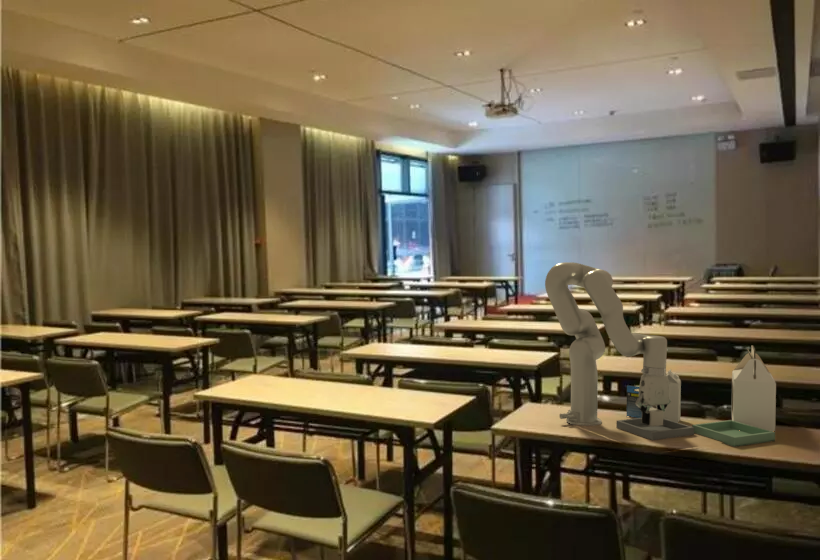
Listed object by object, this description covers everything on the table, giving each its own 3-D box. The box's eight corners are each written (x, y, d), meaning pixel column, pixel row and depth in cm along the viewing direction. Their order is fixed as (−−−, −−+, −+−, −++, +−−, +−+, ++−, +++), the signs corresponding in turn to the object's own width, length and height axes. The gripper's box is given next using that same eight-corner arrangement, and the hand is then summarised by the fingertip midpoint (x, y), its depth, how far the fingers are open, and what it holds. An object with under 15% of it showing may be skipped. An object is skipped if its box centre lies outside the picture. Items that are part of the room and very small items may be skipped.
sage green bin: (734, 446, 217) (734, 437, 217) (691, 433, 234) (691, 424, 234) (774, 441, 224) (775, 432, 224) (730, 428, 241) (730, 420, 240)
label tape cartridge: (652, 418, 255) (653, 386, 255) (649, 420, 252) (649, 387, 252) (629, 415, 261) (630, 383, 260) (626, 417, 258) (626, 385, 257)
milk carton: (657, 421, 250) (658, 370, 250) (660, 417, 257) (660, 368, 256) (678, 424, 247) (678, 372, 246) (680, 419, 253) (681, 369, 253)
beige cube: (651, 426, 232) (652, 411, 232) (641, 422, 237) (642, 408, 237) (662, 425, 234) (663, 410, 234) (652, 421, 239) (653, 407, 238)
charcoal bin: (652, 441, 223) (652, 432, 223) (616, 428, 240) (616, 420, 240) (694, 436, 230) (694, 427, 230) (656, 424, 247) (656, 415, 247)
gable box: (731, 415, 261) (732, 343, 260) (770, 418, 255) (771, 345, 254) (733, 428, 240) (734, 350, 239) (775, 432, 235) (776, 352, 234)
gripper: (642, 374, 228) (640, 428, 229) (681, 372, 234) (679, 424, 235) (627, 370, 235) (625, 422, 236) (665, 368, 241) (663, 418, 242)
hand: (652, 422), depth 235 cm, fingers closed on beige cube, 5 cm apart
